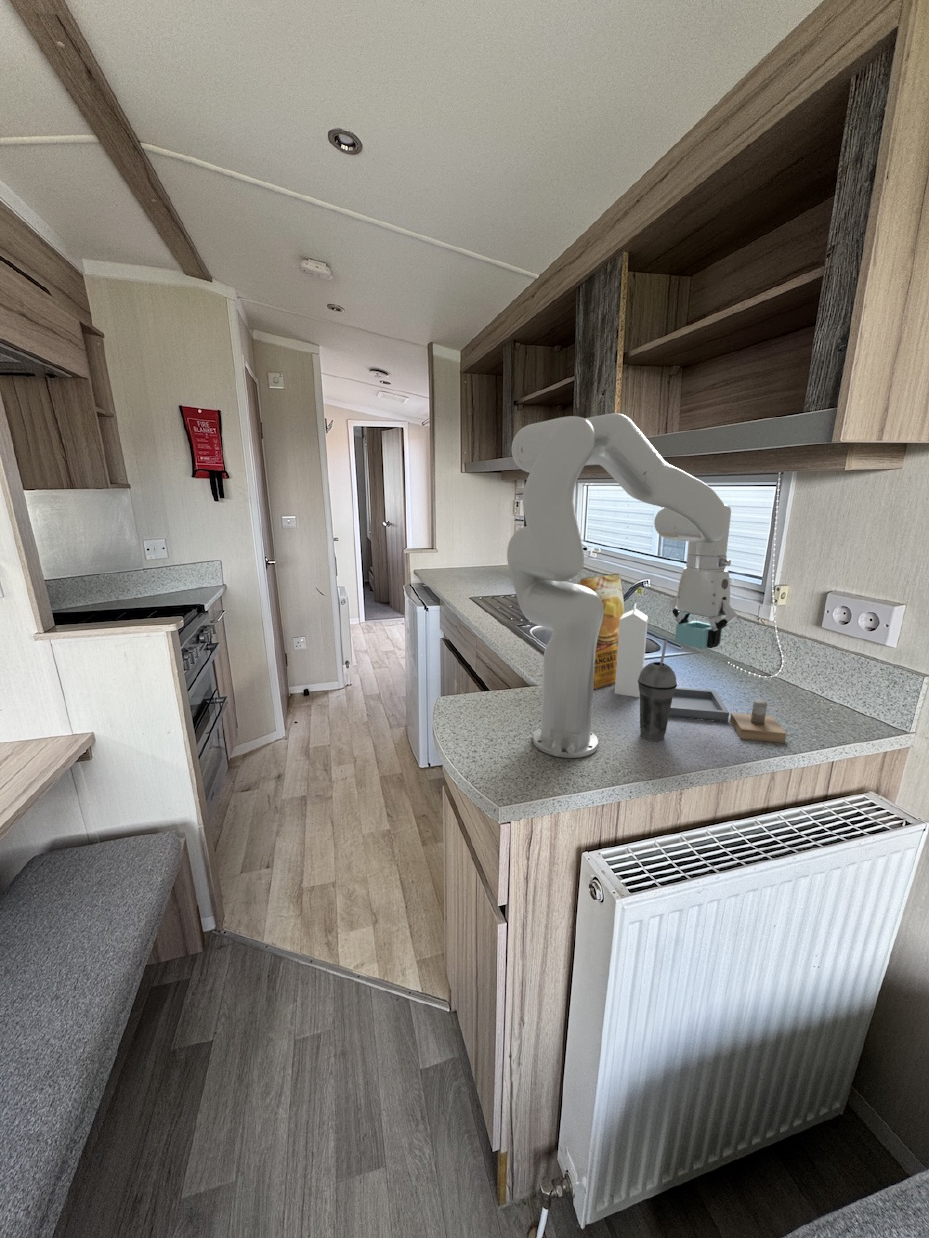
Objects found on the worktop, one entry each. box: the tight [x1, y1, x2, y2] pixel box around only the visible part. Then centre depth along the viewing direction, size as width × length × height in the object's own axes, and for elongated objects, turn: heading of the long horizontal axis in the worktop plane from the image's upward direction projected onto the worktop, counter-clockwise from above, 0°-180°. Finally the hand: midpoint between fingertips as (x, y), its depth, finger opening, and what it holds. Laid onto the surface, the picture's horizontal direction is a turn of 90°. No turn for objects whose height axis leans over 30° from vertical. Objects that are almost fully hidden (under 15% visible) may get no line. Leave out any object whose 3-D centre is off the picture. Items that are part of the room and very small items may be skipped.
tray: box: [669, 687, 730, 723], centre depth 116 cm, size 13×13×2 cm
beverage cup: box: [638, 640, 678, 742], centre depth 100 cm, size 7×7×20 cm
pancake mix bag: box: [577, 573, 626, 690], centre depth 129 cm, size 7×19×28 cm, turn 124°
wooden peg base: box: [729, 699, 787, 744], centre depth 103 cm, size 8×8×6 cm
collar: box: [674, 620, 723, 650], centre depth 113 cm, size 7×9×4 cm
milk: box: [614, 603, 649, 698], centre depth 123 cm, size 6×6×22 cm
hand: (697, 642), depth 113 cm, fingers closed on collar, 6 cm apart
